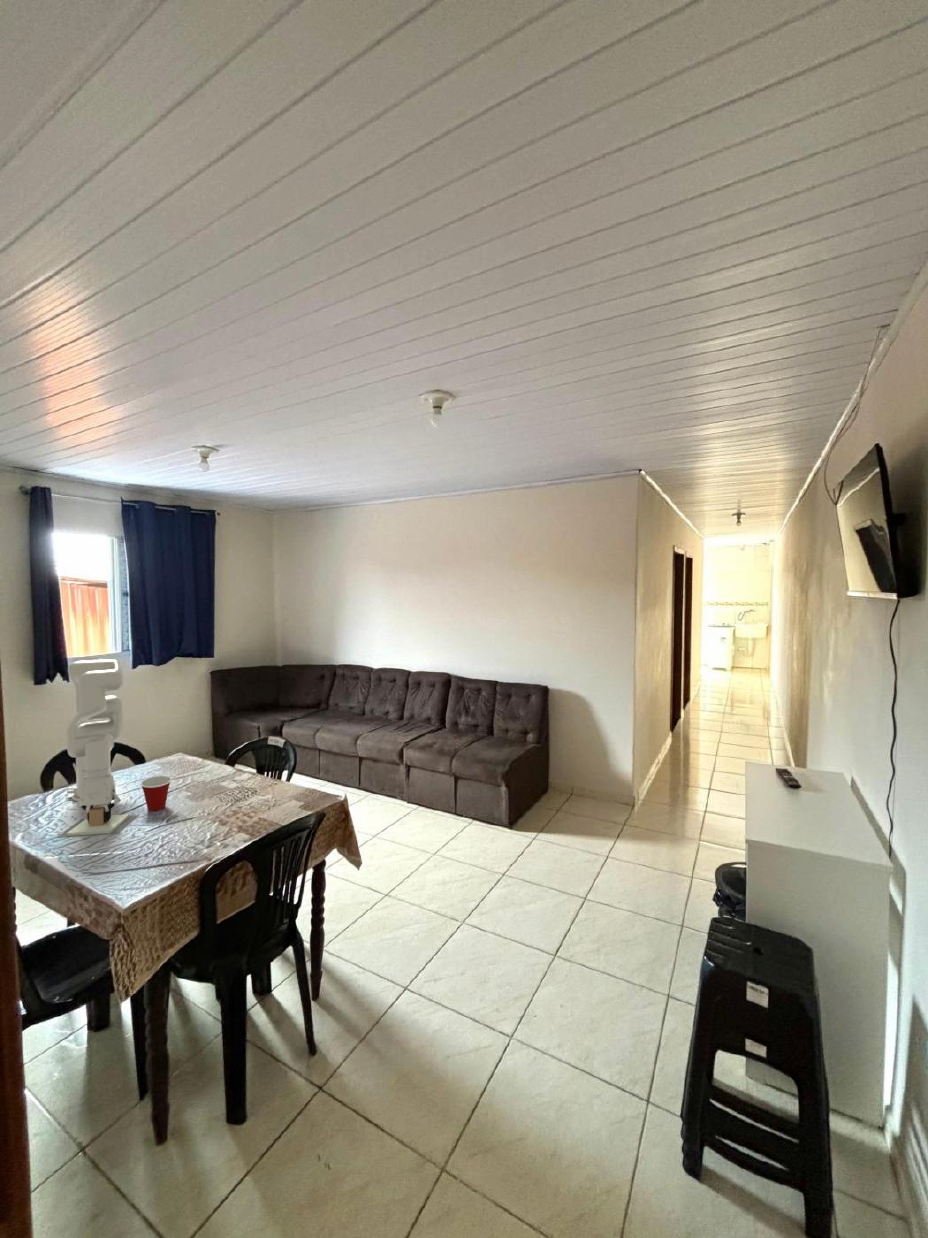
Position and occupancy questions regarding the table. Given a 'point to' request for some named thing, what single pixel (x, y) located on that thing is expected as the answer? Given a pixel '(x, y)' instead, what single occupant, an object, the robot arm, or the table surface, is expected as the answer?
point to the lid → (98, 823)
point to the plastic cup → (156, 792)
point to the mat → (100, 834)
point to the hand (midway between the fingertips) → (99, 821)
